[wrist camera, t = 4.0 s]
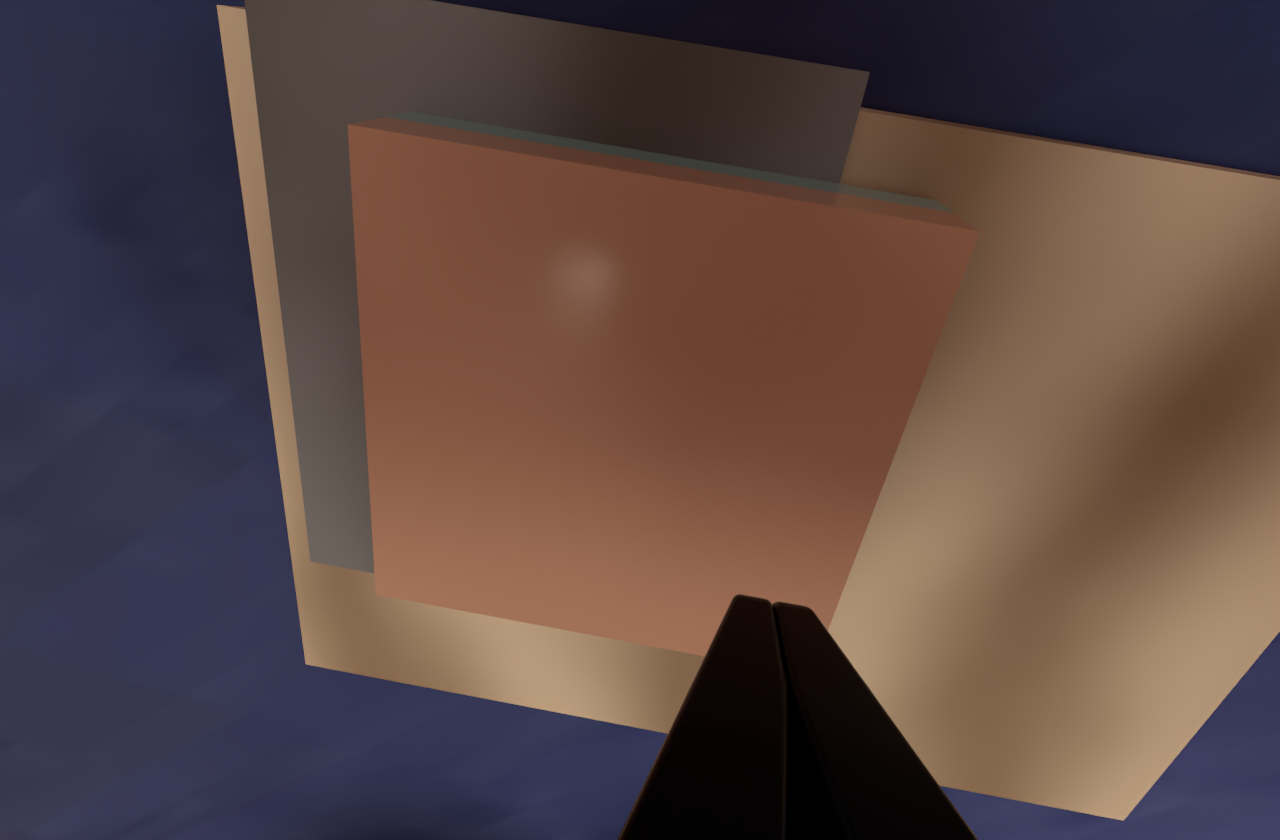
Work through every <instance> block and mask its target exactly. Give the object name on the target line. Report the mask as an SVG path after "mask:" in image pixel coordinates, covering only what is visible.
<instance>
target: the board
mask: <svg viewBox="0 0 1280 840" xmlns="http://www.w3.org/2000/svg"><path fill="white" fill-rule="evenodd" d="M244 2H245V7H237V6H225V5H217V11H218V19H219V26H220V34H221V41H222V48H223V56H224V63H225V71H226V78H227V85H228V93H229V100H230V108H231V115H232V122H233V130H234V137H235V145H236V152H237V159H238V167H239V174H240V182H241V189H242V196H243V204H244V211H245V219H246V226H247V233H248V241H249V248H250V256H251V263H252V270H253V278H254V285H255V293H256V300H257V307H258V315H259V322H260V330H261V337H262V344H263V352H264V359H265V367H266V374H267V381H268V389H269V396H270V404H271V411H272V418H273V426H274V433H275V441H276V448H277V455H278V463H279V470H280V478H281V485H282V492H283V500H284V507H285V515H286V522H287V529H288V537H289V544H290V552H291V559H292V566H293V574H294V581H295V589H296V596H297V603H298V611H299V618H300V626H301V633H302V640H303V648H304V655H305V663H306V664H307V665H312V666H317V667H322V668H328V669H333V670H338V671H343V672H349V673H354V674H359V675H364V676H370V677H375V678H380V679H385V680H390V681H396V682H401V683H406V684H411V685H417V686H422V687H427V688H432V689H438V690H443V691H448V692H453V693H458V694H464V695H469V696H474V697H479V698H485V699H490V700H495V701H500V702H506V703H511V704H516V705H521V706H526V707H532V708H537V709H542V710H547V711H553V712H558V713H563V714H568V715H574V716H579V717H584V718H589V719H594V720H600V721H605V722H610V723H615V724H621V725H626V726H631V727H636V728H642V729H647V730H652V731H657V732H662V733H668V732H669V730H670V728H671V726H672V724H673V722H674V720H675V718H676V716H677V714H678V712H679V709H680V707H681V705H682V703H683V701H684V699H685V697H686V695H687V693H688V691H689V689H690V686H691V684H692V682H693V680H694V678H695V676H696V674H697V672H698V670H699V668H700V666H701V663H702V661H703V659H704V657H705V656H700V655H695V654H690V653H684V652H679V651H674V650H668V649H663V648H658V647H652V646H647V645H642V644H636V643H631V642H626V641H620V640H615V639H610V638H604V637H599V636H594V635H588V634H583V633H578V632H572V631H567V630H562V629H556V628H551V627H546V626H540V625H535V624H530V623H524V622H519V621H514V620H509V619H503V618H498V617H493V616H487V615H482V614H477V613H471V612H466V611H461V610H455V609H450V608H445V607H439V606H434V605H429V604H423V603H418V602H413V601H407V600H402V599H397V598H391V597H386V596H381V595H376V591H375V574H374V558H373V541H372V524H371V508H370V491H369V474H368V458H367V441H366V424H365V407H364V391H363V374H362V357H361V341H360V324H359V307H358V291H357V274H356V257H355V241H354V224H353V207H352V190H351V174H350V157H349V140H348V124H352V123H357V122H362V121H367V120H372V119H377V118H382V117H387V116H392V115H397V114H402V113H407V112H416V113H422V114H428V115H433V116H439V117H445V118H451V119H457V120H463V121H469V122H475V123H481V124H487V125H493V126H499V127H505V128H511V129H517V130H523V131H529V132H535V133H541V134H547V135H553V136H558V137H564V138H570V139H576V140H582V141H588V142H594V143H600V144H606V145H612V146H618V147H624V148H630V149H636V150H642V151H648V152H654V153H660V154H666V155H672V156H677V157H683V158H689V159H695V160H701V161H707V162H713V163H719V164H725V165H731V166H737V167H743V168H749V169H755V170H761V171H767V172H773V173H779V174H785V175H791V176H797V177H802V178H808V179H814V180H820V181H826V182H832V183H838V184H844V185H850V186H856V187H862V188H868V189H874V190H880V191H886V192H892V193H898V194H904V195H910V196H916V197H922V198H927V199H933V200H937V201H939V202H940V203H941V204H943V205H944V206H946V207H947V208H948V209H950V210H951V211H953V212H954V213H955V214H957V215H958V216H960V217H961V218H962V219H964V220H965V221H966V222H968V223H969V224H971V225H972V226H973V227H975V228H976V229H978V230H979V231H980V233H979V235H978V238H977V241H976V243H975V246H974V249H973V251H972V254H971V256H970V259H969V262H968V264H967V267H966V270H965V272H964V275H963V277H962V280H961V283H960V285H959V288H958V291H957V293H956V296H955V298H954V301H953V304H952V306H951V309H950V312H949V314H948V317H947V319H946V322H945V325H944V327H943V330H942V333H941V335H940V338H939V340H938V343H937V346H936V348H935V351H934V353H933V356H932V359H931V361H930V364H929V367H928V369H927V372H926V374H925V377H924V380H923V382H922V385H921V388H920V390H919V393H918V395H917V398H916V401H915V403H914V406H913V409H912V411H911V414H910V416H909V419H908V422H907V424H906V427H905V430H904V432H903V435H902V437H901V440H900V443H899V445H898V448H897V450H896V453H895V456H894V458H893V461H892V464H891V466H890V469H889V471H888V474H887V477H886V479H885V482H884V485H883V487H882V490H881V492H880V495H879V498H878V500H877V503H876V506H875V508H874V511H873V513H872V516H871V519H870V521H869V524H868V527H867V529H866V532H865V534H864V537H863V540H862V542H861V545H860V548H859V550H858V553H857V555H856V558H855V561H854V563H853V566H852V568H851V571H850V574H849V576H848V579H847V582H846V584H845V587H844V589H843V592H842V595H841V597H840V600H839V603H838V605H837V608H836V610H835V613H834V616H833V618H832V621H831V624H830V626H829V629H828V632H829V633H830V634H831V636H832V637H833V639H834V640H835V641H836V643H837V644H838V646H839V647H840V648H841V650H842V651H843V653H844V654H845V655H846V657H847V658H848V659H849V661H850V662H851V664H852V665H853V666H854V668H855V669H856V671H857V672H858V673H859V675H860V676H861V678H862V679H863V680H864V682H865V683H866V684H867V686H868V687H869V689H870V690H871V691H872V693H873V694H874V696H875V697H876V698H877V700H878V701H879V703H880V704H881V705H882V707H883V708H884V709H885V711H886V712H887V714H888V715H889V716H890V718H891V719H892V721H893V722H894V723H895V725H896V726H897V728H898V729H899V730H900V732H901V733H902V734H903V736H904V737H905V739H906V740H907V741H908V743H909V744H910V746H911V747H912V748H913V750H914V751H915V753H916V754H917V755H918V757H919V758H920V759H921V761H922V762H923V764H924V765H925V766H926V768H927V769H928V771H929V772H930V773H931V775H932V776H933V778H934V779H935V780H936V782H937V783H938V784H939V785H940V786H945V787H950V788H955V789H961V790H966V791H971V792H976V793H982V794H987V795H992V796H997V797H1002V798H1008V799H1013V800H1018V801H1023V802H1029V803H1034V804H1039V805H1044V806H1050V807H1055V808H1060V809H1065V810H1070V811H1076V812H1081V813H1086V814H1091V815H1097V816H1102V817H1107V818H1112V819H1117V820H1123V821H1124V820H1125V818H1126V817H1127V816H1128V815H1129V813H1130V812H1131V811H1132V810H1133V809H1134V807H1135V806H1136V805H1137V804H1138V803H1139V801H1140V800H1141V799H1142V798H1143V797H1144V795H1145V794H1146V793H1147V792H1148V790H1149V789H1150V788H1151V787H1152V786H1153V784H1154V783H1155V782H1156V781H1157V780H1158V778H1159V777H1160V776H1161V775H1162V773H1163V772H1164V771H1165V770H1166V769H1167V767H1168V766H1169V765H1170V764H1171V763H1172V761H1173V760H1174V759H1175V758H1176V757H1177V755H1178V754H1179V753H1180V752H1181V750H1182V749H1183V748H1184V747H1185V746H1186V744H1187V743H1188V742H1189V741H1190V740H1191V738H1192V737H1193V736H1194V735H1195V734H1196V732H1197V731H1198V730H1199V729H1200V727H1201V726H1202V725H1203V724H1204V723H1205V721H1206V720H1207V719H1208V718H1209V717H1210V715H1211V714H1212V713H1213V712H1214V710H1215V709H1216V708H1217V707H1218V706H1219V704H1220V703H1221V702H1222V701H1223V700H1224V698H1225V697H1226V696H1227V695H1228V694H1229V692H1230V691H1231V690H1232V689H1233V687H1234V686H1235V685H1236V684H1237V683H1238V681H1239V680H1240V679H1241V678H1242V677H1243V675H1244V674H1245V673H1246V672H1247V670H1248V669H1249V668H1250V667H1251V666H1252V664H1253V663H1254V662H1255V661H1256V660H1257V658H1258V657H1259V656H1260V655H1261V654H1262V652H1263V651H1264V650H1265V649H1266V647H1267V646H1268V645H1269V644H1270V643H1271V641H1272V640H1273V639H1274V638H1275V637H1276V635H1277V634H1278V633H1279V632H1280V176H1275V175H1269V174H1263V173H1257V172H1251V171H1245V170H1239V169H1232V168H1226V167H1220V166H1214V165H1208V164H1202V163H1196V162H1190V161H1184V160H1178V159H1172V158H1166V157H1160V156H1154V155H1148V154H1141V153H1135V152H1129V151H1123V150H1117V149H1111V148H1105V147H1099V146H1093V145H1087V144H1081V143H1075V142H1069V141H1063V140H1057V139H1050V138H1044V137H1038V136H1032V135H1026V134H1020V133H1014V132H1008V131H1002V130H996V129H990V128H984V127H978V126H972V125H966V124H959V123H953V122H947V121H941V120H935V119H929V118H923V117H917V116H911V115H905V114H899V113H893V112H887V111H881V110H875V109H869V108H862V107H861V103H862V100H863V96H864V92H865V89H866V85H867V81H868V78H869V74H870V72H866V71H860V70H854V69H848V68H842V67H835V66H829V65H823V64H817V63H811V62H805V61H799V60H793V59H786V58H780V57H774V56H768V55H762V54H756V53H750V52H744V51H738V50H731V49H725V48H719V47H713V46H707V45H701V44H695V43H689V42H682V41H676V40H670V39H664V38H658V37H652V36H646V35H640V34H633V33H627V32H621V31H615V30H609V29H603V28H597V27H591V26H585V25H578V24H572V23H566V22H560V21H554V20H548V19H542V18H536V17H529V16H523V15H517V14H511V13H505V12H499V11H493V10H487V9H481V8H474V7H468V6H462V5H456V4H450V3H444V2H438V1H432V0H244Z"/></svg>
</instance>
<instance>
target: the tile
mask: <svg viewBox="0 0 1280 840" xmlns="http://www.w3.org/2000/svg"><path fill="white" fill-rule="evenodd" d="M348 140H349V157H350V174H351V190H352V207H353V224H354V241H355V257H356V274H357V291H358V307H359V324H360V341H361V357H362V374H363V391H364V407H365V424H366V441H367V458H368V474H369V491H370V508H371V524H372V541H373V558H374V574H375V591H376V595H381V596H386V597H391V598H397V599H402V600H407V601H413V602H418V603H423V604H429V605H434V606H439V607H445V608H450V609H455V610H461V611H466V612H471V613H477V614H482V615H487V616H493V617H498V618H503V619H509V620H514V621H519V622H524V623H530V624H535V625H540V626H546V627H551V628H556V629H562V630H567V631H572V632H578V633H583V634H588V635H594V636H599V637H604V638H610V639H615V640H620V641H626V642H631V643H636V644H642V645H647V646H652V647H658V648H663V649H668V650H674V651H679V652H684V653H690V654H695V655H700V656H705V655H706V653H707V651H708V649H709V647H710V645H711V643H712V640H713V638H714V636H715V634H716V632H717V630H718V628H719V626H720V624H721V622H722V620H723V617H724V615H725V613H726V611H727V609H728V607H729V605H730V603H731V601H732V599H733V597H734V596H735V595H737V594H742V595H748V596H753V597H758V598H764V599H767V600H769V601H770V602H771V603H772V604H773V603H775V602H777V601H780V602H786V603H791V604H797V605H802V606H806V607H809V608H810V609H812V610H813V611H814V612H815V614H816V615H817V616H818V618H819V619H820V621H821V622H822V623H823V625H824V626H825V628H826V629H827V630H828V629H829V626H830V624H831V621H832V618H833V616H834V613H835V610H836V608H837V605H838V603H839V600H840V597H841V595H842V592H843V589H844V587H845V584H846V582H847V579H848V576H849V574H850V571H851V568H852V566H853V563H854V561H855V558H856V555H857V553H858V550H859V548H860V545H861V542H862V540H863V537H864V534H865V532H866V529H867V527H868V524H869V521H870V519H871V516H872V513H873V511H874V508H875V506H876V503H877V500H878V498H879V495H880V492H881V490H882V487H883V485H884V482H885V479H886V477H887V474H888V471H889V469H890V466H891V464H892V461H893V458H894V456H895V453H896V450H897V448H898V445H899V443H900V440H901V437H902V435H903V432H904V430H905V427H906V424H907V422H908V419H909V416H910V414H911V411H912V409H913V406H914V403H915V401H916V398H917V395H918V393H919V390H920V388H921V385H922V382H923V380H924V377H925V374H926V372H927V369H928V367H929V364H930V361H931V359H932V356H933V353H934V351H935V348H936V346H937V343H938V340H939V338H940V335H941V333H942V330H943V327H944V325H945V322H946V319H947V317H948V314H949V312H950V309H951V306H952V304H953V301H954V298H955V296H956V293H957V291H958V288H959V285H960V283H961V280H962V277H963V275H964V272H965V270H966V267H967V264H968V262H969V259H970V256H971V254H972V251H973V249H974V246H975V243H976V241H977V238H978V235H979V233H980V231H979V230H978V229H976V228H975V227H973V226H972V225H971V224H969V223H968V222H966V221H965V220H964V219H962V218H961V217H960V216H958V215H957V214H955V213H954V212H953V211H951V210H950V209H948V208H947V207H946V206H944V205H943V204H941V203H940V202H939V201H937V200H933V199H927V198H922V197H916V196H910V195H904V194H898V193H892V192H886V191H880V190H874V189H868V188H862V187H856V186H850V185H844V184H838V183H832V182H826V181H820V180H814V179H808V178H802V177H797V176H791V175H785V174H779V173H773V172H767V171H761V170H755V169H749V168H743V167H737V166H731V165H725V164H719V163H713V162H707V161H701V160H695V159H689V158H683V157H677V156H672V155H666V154H660V153H654V152H648V151H642V150H636V149H630V148H624V147H618V146H612V145H606V144H600V143H594V142H588V141H582V140H576V139H570V138H564V137H558V136H553V135H547V134H541V133H535V132H529V131H523V130H517V129H511V128H505V127H499V126H493V125H487V124H481V123H475V122H469V121H463V120H457V119H451V118H445V117H439V116H433V115H428V114H422V113H416V112H407V113H402V114H397V115H392V116H387V117H382V118H377V119H372V120H367V121H362V122H357V123H352V124H348Z"/></svg>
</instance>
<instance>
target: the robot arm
mask: <svg viewBox="0 0 1280 840" xmlns="http://www.w3.org/2000/svg"><path fill="white" fill-rule="evenodd" d="M617 840H978V839H977V837H976V836H975V835H974V833H973V832H972V830H971V829H970V828H969V826H968V825H967V823H966V822H965V821H964V819H963V818H962V816H961V815H960V814H959V812H958V811H957V809H956V808H955V807H954V805H953V804H952V803H951V801H950V800H949V798H948V797H947V796H946V794H945V793H944V791H943V790H942V789H941V787H940V786H939V784H938V783H937V782H936V780H935V779H934V778H933V776H932V775H931V773H930V772H929V771H928V769H927V768H926V766H925V765H924V764H923V762H922V761H921V759H920V758H919V757H918V755H917V754H916V753H915V751H914V750H913V748H912V747H911V746H910V744H909V743H908V741H907V740H906V739H905V737H904V736H903V734H902V733H901V732H900V730H899V729H898V728H897V726H896V725H895V723H894V722H893V721H892V719H891V718H890V716H889V715H888V714H887V712H886V711H885V709H884V708H883V707H882V705H881V704H880V703H879V701H878V700H877V698H876V697H875V696H874V694H873V693H872V691H871V690H870V689H869V687H868V686H867V684H866V683H865V682H864V680H863V679H862V678H861V676H860V675H859V673H858V672H857V671H856V669H855V668H854V666H853V665H852V664H851V662H850V661H849V659H848V658H847V657H846V655H845V654H844V653H843V651H842V650H841V648H840V647H839V646H838V644H837V643H836V641H835V640H834V639H833V637H832V636H831V634H830V633H829V632H828V630H827V629H826V628H825V626H824V625H823V623H822V622H821V621H820V619H819V618H818V616H817V615H816V614H815V612H814V611H813V610H812V609H810V608H809V607H806V606H802V605H797V604H791V603H786V602H780V601H777V602H775V603H773V604H772V603H771V602H770V601H769V600H767V599H764V598H758V597H753V596H748V595H742V594H737V595H735V596H734V597H733V599H732V601H731V603H730V605H729V607H728V609H727V611H726V613H725V615H724V617H723V620H722V622H721V624H720V626H719V628H718V630H717V632H716V634H715V636H714V638H713V640H712V643H711V645H710V647H709V649H708V651H707V653H706V655H705V657H704V659H703V661H702V663H701V666H700V668H699V670H698V672H697V674H696V676H695V678H694V680H693V682H692V684H691V686H690V689H689V691H688V693H687V695H686V697H685V699H684V701H683V703H682V705H681V707H680V709H679V712H678V714H677V716H676V718H675V720H674V722H673V724H672V726H671V728H670V730H669V732H668V735H667V737H666V739H665V741H664V743H663V745H662V747H661V749H660V751H659V753H658V756H657V758H656V760H655V762H654V764H653V766H652V768H651V770H650V772H649V774H648V776H647V779H646V781H645V783H644V785H643V787H642V789H641V791H640V793H639V795H638V797H637V799H636V802H635V804H634V806H633V808H632V810H631V812H630V814H629V816H628V818H627V820H626V822H625V825H624V827H623V829H622V831H621V833H620V835H619V837H618V839H617Z"/></svg>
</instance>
